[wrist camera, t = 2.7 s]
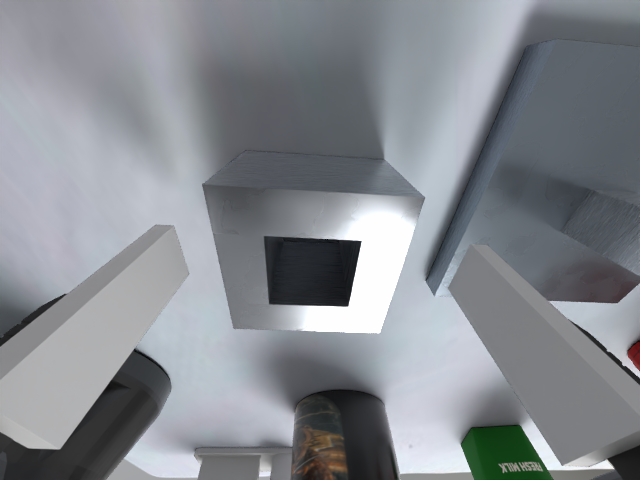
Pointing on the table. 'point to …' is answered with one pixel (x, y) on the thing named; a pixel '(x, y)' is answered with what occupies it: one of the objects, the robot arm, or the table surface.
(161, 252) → the robot arm
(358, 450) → the jar
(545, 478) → the milk carton
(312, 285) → the block
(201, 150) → the table surface
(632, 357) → the plastic cup
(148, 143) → the table surface
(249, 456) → the phone holder
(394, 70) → the table surface
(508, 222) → the stand
